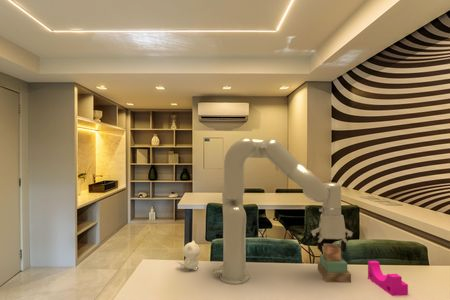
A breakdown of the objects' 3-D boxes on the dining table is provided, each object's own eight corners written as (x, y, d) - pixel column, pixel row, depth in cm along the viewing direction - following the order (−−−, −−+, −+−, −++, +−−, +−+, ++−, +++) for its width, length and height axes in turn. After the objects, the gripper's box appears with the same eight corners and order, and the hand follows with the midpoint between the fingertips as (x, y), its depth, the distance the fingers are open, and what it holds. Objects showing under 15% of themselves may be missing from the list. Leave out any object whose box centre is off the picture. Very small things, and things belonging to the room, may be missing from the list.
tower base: (326, 283, 114) (326, 273, 114) (317, 270, 126) (317, 261, 126) (350, 283, 114) (350, 274, 114) (340, 271, 126) (340, 262, 126)
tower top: (327, 272, 115) (327, 263, 115) (319, 263, 125) (319, 254, 125) (347, 273, 115) (347, 263, 115) (337, 263, 125) (337, 254, 125)
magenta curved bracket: (407, 296, 103) (407, 276, 103) (392, 297, 103) (392, 277, 103) (381, 278, 118) (381, 260, 118) (367, 278, 118) (367, 261, 118)
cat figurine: (197, 273, 123) (197, 246, 123) (174, 271, 124) (174, 245, 124) (202, 265, 131) (201, 240, 131) (180, 264, 133) (180, 238, 133)
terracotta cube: (327, 260, 117) (327, 247, 117) (323, 256, 123) (323, 243, 123) (340, 261, 117) (340, 248, 117) (336, 256, 123) (336, 243, 123)
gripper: (313, 213, 117) (313, 253, 117) (355, 213, 116) (355, 254, 116) (309, 209, 124) (309, 247, 124) (348, 209, 123) (348, 248, 123)
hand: (331, 251), depth 120 cm, fingers open, 9 cm apart
